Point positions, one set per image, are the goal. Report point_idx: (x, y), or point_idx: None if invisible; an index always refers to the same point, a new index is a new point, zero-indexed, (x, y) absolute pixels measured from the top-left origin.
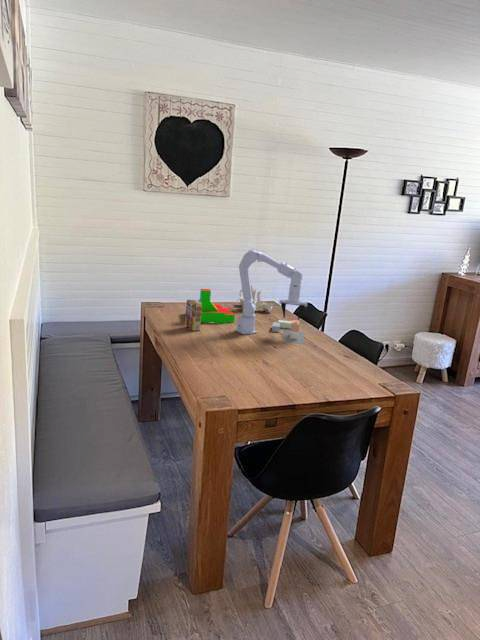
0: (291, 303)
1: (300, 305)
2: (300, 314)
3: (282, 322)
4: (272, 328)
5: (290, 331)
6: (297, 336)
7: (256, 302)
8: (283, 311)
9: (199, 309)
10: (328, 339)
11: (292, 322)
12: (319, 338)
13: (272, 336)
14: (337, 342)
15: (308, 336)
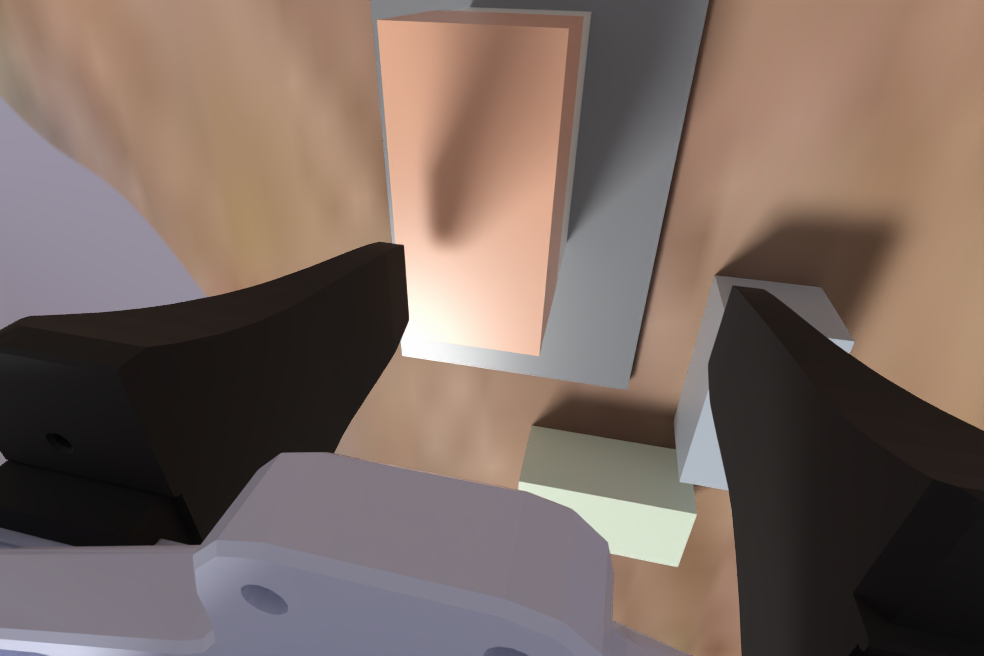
0: (591, 557)
1: (130, 529)
2: (291, 276)
3: (642, 501)
4: (836, 319)
5: (553, 345)
6: (466, 8)
7: None
8: (861, 369)
9: None
10: (134, 189)
11: (537, 173)
12: (225, 199)
13: (874, 97)
14: (20, 101)
15: (347, 243)
